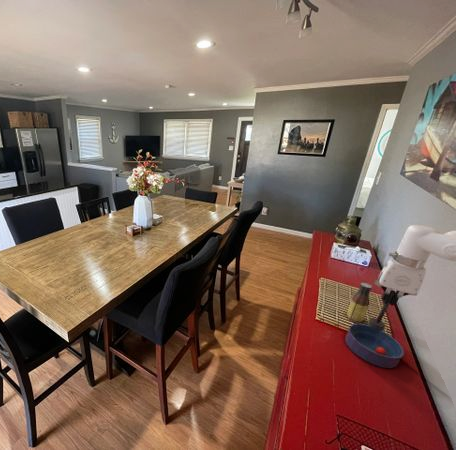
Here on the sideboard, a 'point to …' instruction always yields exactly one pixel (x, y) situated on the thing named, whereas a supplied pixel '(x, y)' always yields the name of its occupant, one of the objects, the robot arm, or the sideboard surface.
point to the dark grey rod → (381, 315)
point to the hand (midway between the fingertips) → (387, 302)
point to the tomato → (381, 351)
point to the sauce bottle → (359, 303)
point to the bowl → (373, 345)
